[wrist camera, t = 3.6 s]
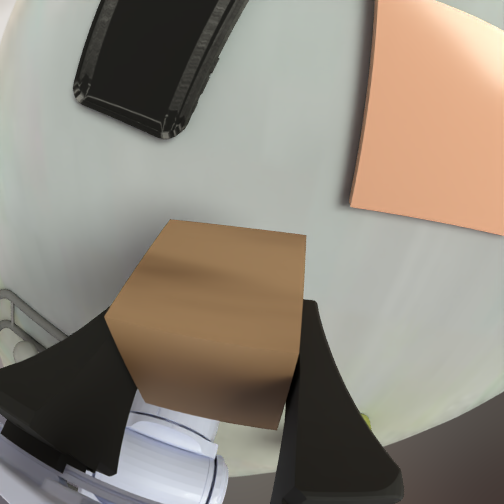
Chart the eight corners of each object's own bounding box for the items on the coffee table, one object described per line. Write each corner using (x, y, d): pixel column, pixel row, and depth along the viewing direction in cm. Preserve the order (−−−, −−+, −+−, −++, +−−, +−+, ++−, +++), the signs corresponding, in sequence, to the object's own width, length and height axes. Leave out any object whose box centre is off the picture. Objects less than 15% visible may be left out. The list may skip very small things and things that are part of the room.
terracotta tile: (509, 231, 15) (514, 238, 15) (348, 200, 17) (350, 206, 16) (552, 64, 8) (559, 66, 8) (375, -13, 10) (378, -16, 9)
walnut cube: (289, 328, 14) (277, 430, 10) (183, 312, 14) (145, 402, 10) (306, 235, 11) (298, 353, 7) (170, 219, 11) (104, 316, 7)
